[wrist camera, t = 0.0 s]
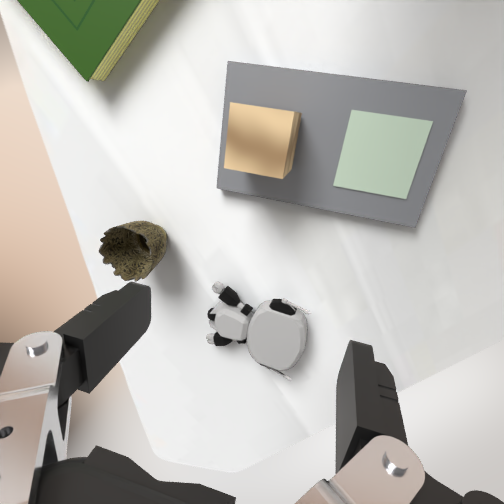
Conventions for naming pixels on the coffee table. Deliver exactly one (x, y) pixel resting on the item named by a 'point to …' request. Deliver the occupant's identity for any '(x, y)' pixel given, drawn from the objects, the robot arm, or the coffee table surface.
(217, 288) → the robot toy
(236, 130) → the cardboard box
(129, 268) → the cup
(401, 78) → the coffee table surface
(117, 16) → the hardcover book
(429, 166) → the post board
